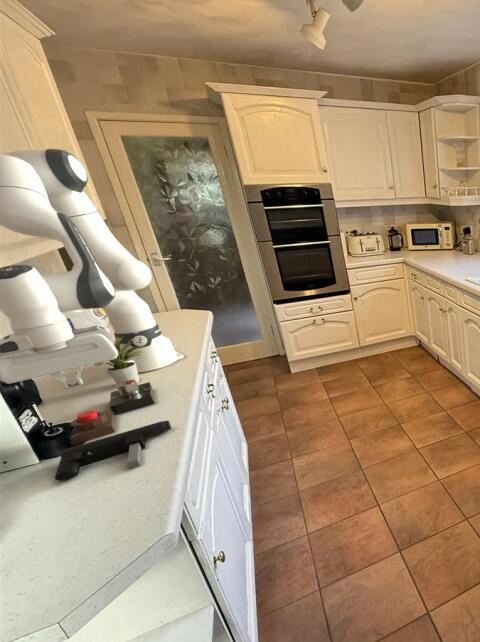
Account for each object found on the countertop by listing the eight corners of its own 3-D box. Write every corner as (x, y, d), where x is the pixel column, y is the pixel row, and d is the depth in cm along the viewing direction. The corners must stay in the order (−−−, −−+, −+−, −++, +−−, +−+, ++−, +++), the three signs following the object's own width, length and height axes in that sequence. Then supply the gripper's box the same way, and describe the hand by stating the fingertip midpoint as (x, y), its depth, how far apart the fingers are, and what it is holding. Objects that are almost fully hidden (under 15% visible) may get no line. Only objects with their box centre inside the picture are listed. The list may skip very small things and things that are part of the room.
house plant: (119, 397, 122) (95, 348, 115) (85, 394, 125) (59, 346, 118) (164, 376, 135) (145, 331, 128) (133, 374, 137) (112, 330, 131)
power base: (76, 429, 106) (68, 416, 104) (116, 417, 110) (109, 405, 109) (72, 445, 99) (64, 432, 97) (115, 432, 104) (108, 419, 102)
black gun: (168, 446, 93) (167, 415, 104) (45, 486, 81) (59, 446, 93) (173, 457, 94) (172, 425, 105) (54, 497, 83) (66, 457, 94)
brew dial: (119, 398, 114) (113, 387, 113) (122, 392, 118) (116, 381, 116) (139, 394, 117) (133, 382, 115) (141, 388, 120) (136, 377, 119)
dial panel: (115, 400, 120) (110, 391, 119) (153, 390, 125) (149, 381, 124) (114, 415, 112) (109, 406, 110) (154, 404, 117) (150, 394, 116)
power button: (80, 419, 103) (77, 413, 103) (99, 414, 106) (96, 408, 105) (78, 424, 101) (75, 419, 100) (98, 419, 103) (95, 413, 102)
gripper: (105, 320, 103) (128, 368, 108) (-16, 343, 90) (18, 395, 96) (104, 326, 98) (129, 375, 104) (-23, 351, 86) (13, 405, 92)
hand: (74, 385), depth 100 cm, fingers closed
